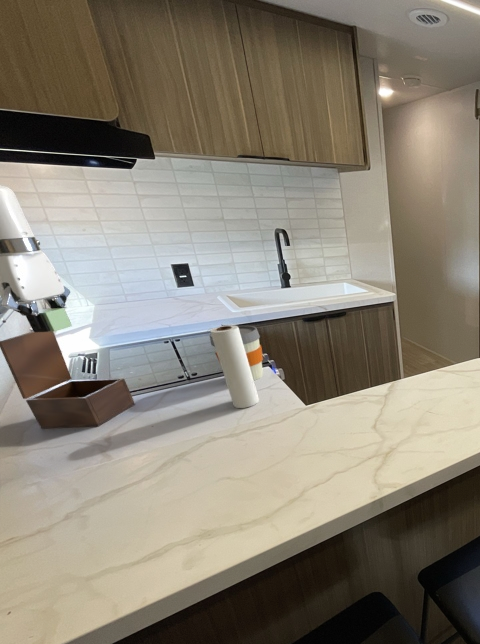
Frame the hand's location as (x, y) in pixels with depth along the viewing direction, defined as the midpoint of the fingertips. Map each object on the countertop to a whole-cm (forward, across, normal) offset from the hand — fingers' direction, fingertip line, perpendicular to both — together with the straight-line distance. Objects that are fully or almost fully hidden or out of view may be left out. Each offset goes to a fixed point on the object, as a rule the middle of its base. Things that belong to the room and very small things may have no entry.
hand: (52, 327), depth 94 cm
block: (0, 0, 0) cm, 0 cm away
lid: (+8, 0, -7) cm, 11 cm away
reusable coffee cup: (+24, -22, +27) cm, 42 cm away
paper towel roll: (+24, -5, +36) cm, 44 cm away
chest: (+24, 0, -1) cm, 24 cm away
